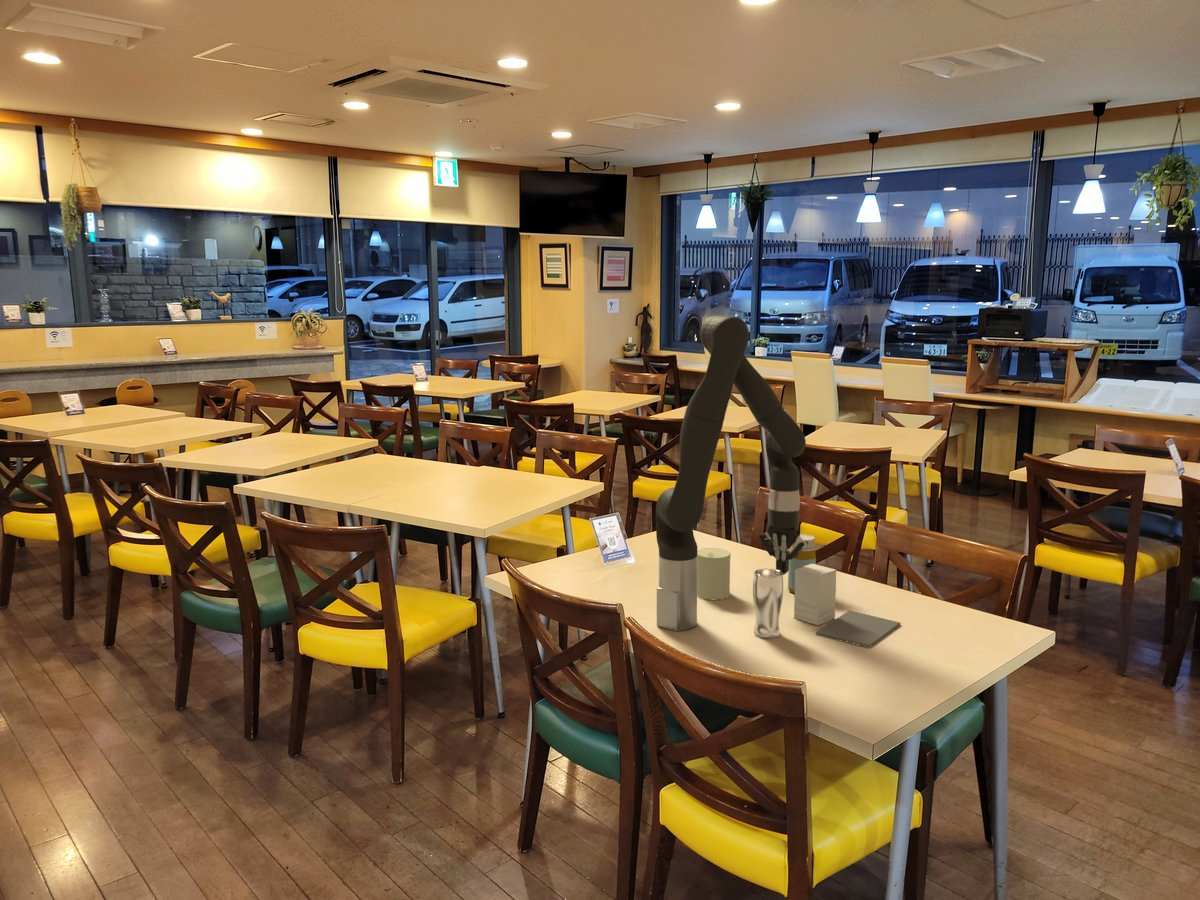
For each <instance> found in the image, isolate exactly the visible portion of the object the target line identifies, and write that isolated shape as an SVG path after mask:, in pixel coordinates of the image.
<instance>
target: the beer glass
mask: <svg viewBox="0 0 1200 900" xmlns="http://www.w3.org/2000/svg"><path fill="white" fill-rule="evenodd" d="M753 573H754V574H753V580H752V597H753V598H752V599H753V604H754V605H753V606H754V612H755V624H754V629H753V634H754V636H756V637H758V638H761V639H766V640H767V639H776V638H778V637H780V635H781V631H780V625H779V623H780V621H779V620H780V613H781V608H782V604H783V598H784V578H783V577H784V575H783V573H782V572H781V571H779V570H776V568H768V567H767V568H758V569H756V570H754V571H753Z"/></svg>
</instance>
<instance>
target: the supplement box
mask: <svg viewBox="0 0 1200 900" xmlns="http://www.w3.org/2000/svg"><path fill="white" fill-rule="evenodd" d="M836 588H837V569H835V568H832V567H826V566H823V565H819V564H810V565H807V566H804V567H801V568H798V569H795V594H794V603H793V604H794V605H793V606H794V609H793V614H794V615H793V618H794V619H797V620H800V621H803V622H806V623H809V624H812V625H816V626H820V625H822V624H825V623H827V622H831V621H833V620H835V619H836V593H837V592H836V591H837V589H836ZM832 619H833V620H832Z"/></svg>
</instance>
